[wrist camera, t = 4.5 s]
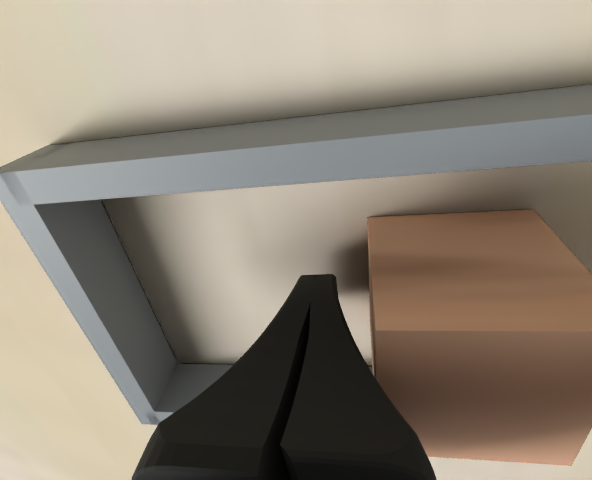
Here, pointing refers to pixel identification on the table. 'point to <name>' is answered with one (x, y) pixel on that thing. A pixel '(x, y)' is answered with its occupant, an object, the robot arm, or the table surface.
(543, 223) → the cube
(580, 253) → the table surface
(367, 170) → the grey u-shaped frame
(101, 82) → the table surface
